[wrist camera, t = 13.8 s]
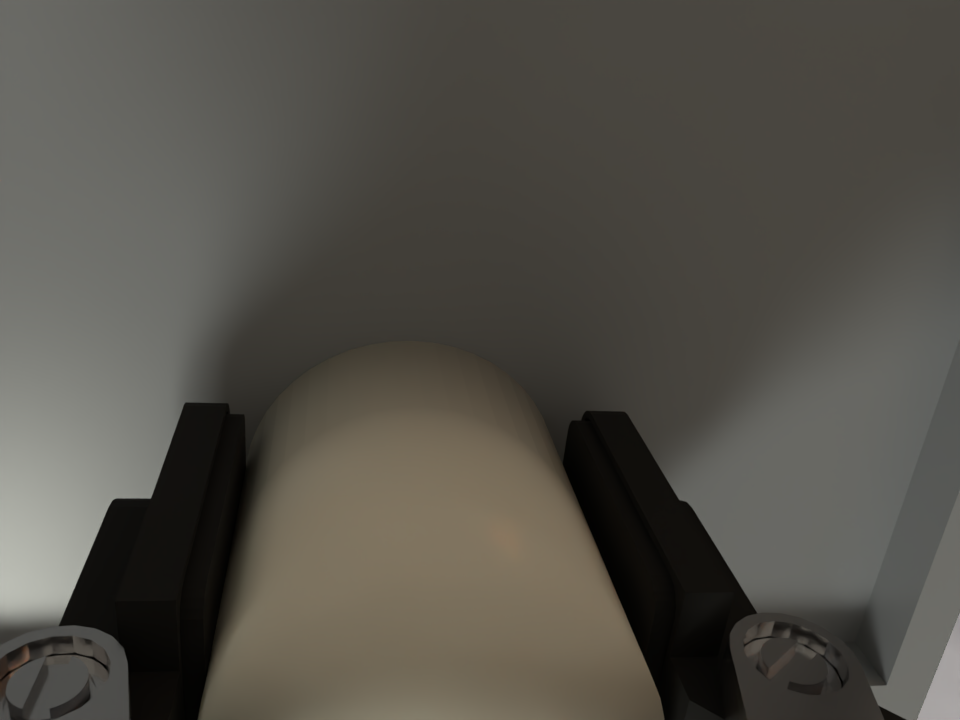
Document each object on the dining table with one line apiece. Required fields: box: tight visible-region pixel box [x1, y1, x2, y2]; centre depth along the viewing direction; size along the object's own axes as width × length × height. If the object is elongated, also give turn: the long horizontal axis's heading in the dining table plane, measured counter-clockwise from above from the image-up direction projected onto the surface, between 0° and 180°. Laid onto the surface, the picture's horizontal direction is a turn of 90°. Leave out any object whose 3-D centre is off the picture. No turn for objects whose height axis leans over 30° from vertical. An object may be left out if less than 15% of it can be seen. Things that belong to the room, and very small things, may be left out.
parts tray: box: [0, 0, 960, 720], centre depth 11 cm, size 16×18×2 cm
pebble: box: [198, 341, 665, 720], centre depth 10 cm, size 4×4×5 cm
